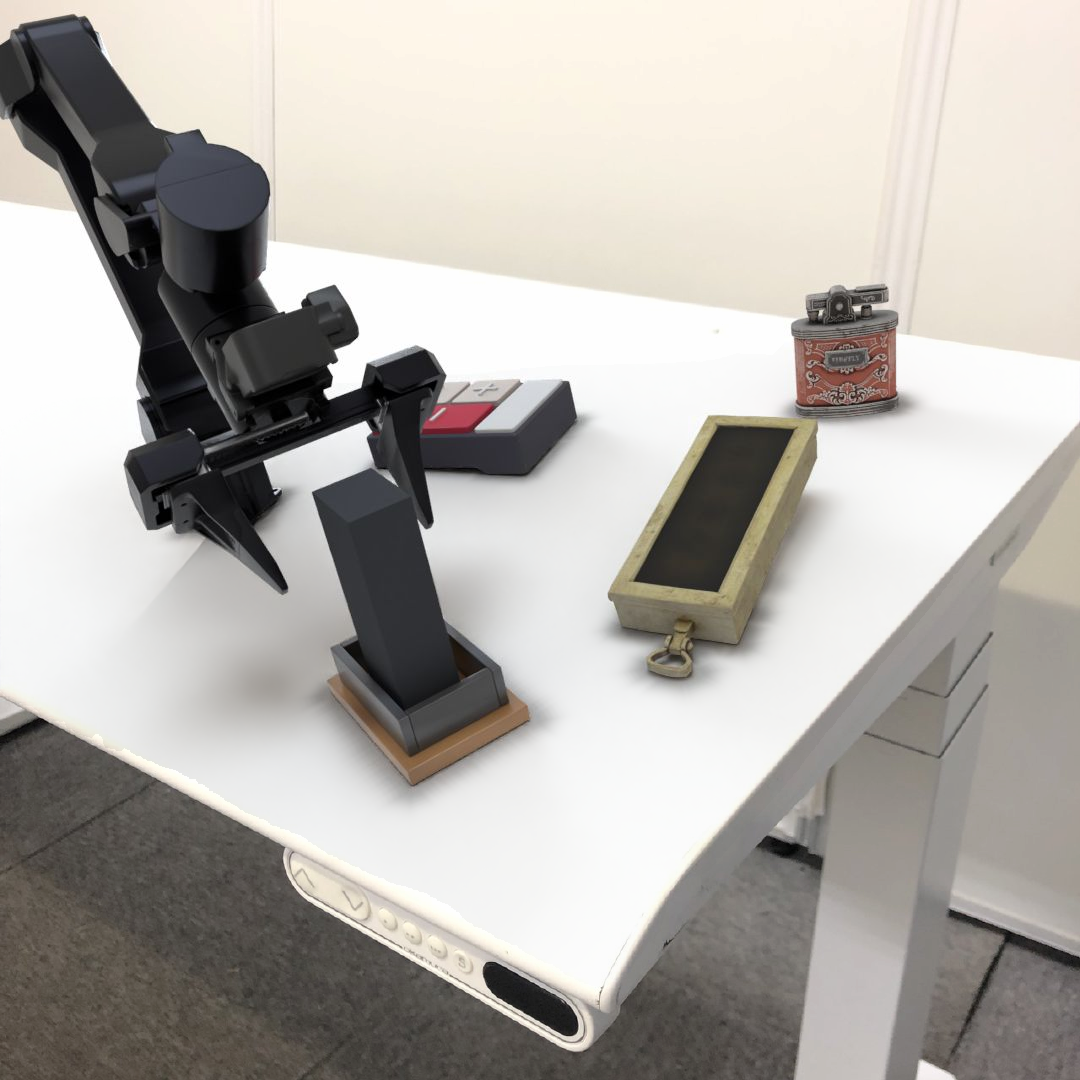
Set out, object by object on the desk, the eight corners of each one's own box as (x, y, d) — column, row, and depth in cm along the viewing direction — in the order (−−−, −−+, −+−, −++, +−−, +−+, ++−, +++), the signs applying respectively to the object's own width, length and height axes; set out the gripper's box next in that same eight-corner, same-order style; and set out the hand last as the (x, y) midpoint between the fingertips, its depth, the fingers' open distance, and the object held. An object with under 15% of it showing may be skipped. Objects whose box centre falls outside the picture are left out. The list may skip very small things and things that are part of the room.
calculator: (425, 378, 96) (569, 371, 89) (437, 421, 98) (579, 417, 91) (360, 429, 88) (514, 426, 81) (375, 474, 90) (526, 474, 83)
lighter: (796, 420, 84) (790, 301, 79) (794, 403, 86) (788, 287, 81) (901, 411, 82) (901, 288, 77) (895, 394, 85) (895, 274, 80)
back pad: (373, 687, 60) (310, 491, 54) (425, 661, 62) (371, 467, 55) (410, 728, 56) (347, 522, 50) (465, 699, 58) (411, 495, 51)
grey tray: (330, 692, 62) (314, 645, 61) (437, 638, 65) (425, 592, 64) (412, 786, 54) (396, 735, 52) (531, 719, 57) (519, 668, 55)
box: (826, 472, 72) (819, 412, 69) (736, 716, 58) (722, 654, 55) (713, 467, 76) (702, 411, 73) (602, 694, 62) (582, 635, 59)
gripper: (58, 308, 51) (198, 578, 48) (393, 207, 58) (532, 434, 55) (87, 415, 61) (204, 644, 58) (370, 317, 68) (486, 515, 65)
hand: (360, 557), depth 59 cm, fingers open, 9 cm apart
